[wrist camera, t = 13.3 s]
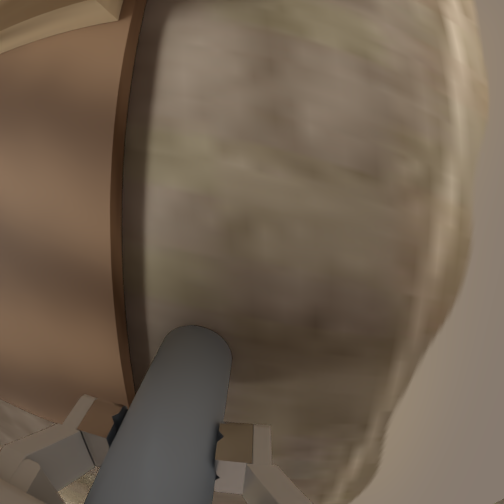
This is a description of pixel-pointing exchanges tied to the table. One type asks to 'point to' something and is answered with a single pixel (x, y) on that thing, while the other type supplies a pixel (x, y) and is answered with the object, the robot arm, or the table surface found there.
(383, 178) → the table surface
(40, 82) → the track
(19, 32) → the block
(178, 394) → the dowel
